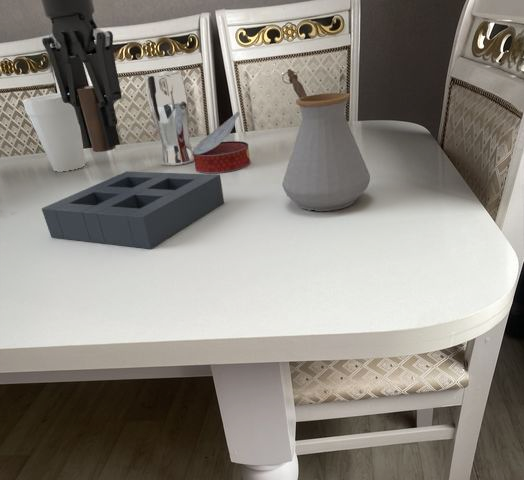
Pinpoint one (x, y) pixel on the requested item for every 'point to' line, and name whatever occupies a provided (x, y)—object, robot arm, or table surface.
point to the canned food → (221, 151)
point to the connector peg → (92, 118)
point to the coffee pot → (324, 154)
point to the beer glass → (170, 115)
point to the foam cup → (57, 131)
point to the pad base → (135, 208)
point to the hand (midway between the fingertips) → (103, 145)
